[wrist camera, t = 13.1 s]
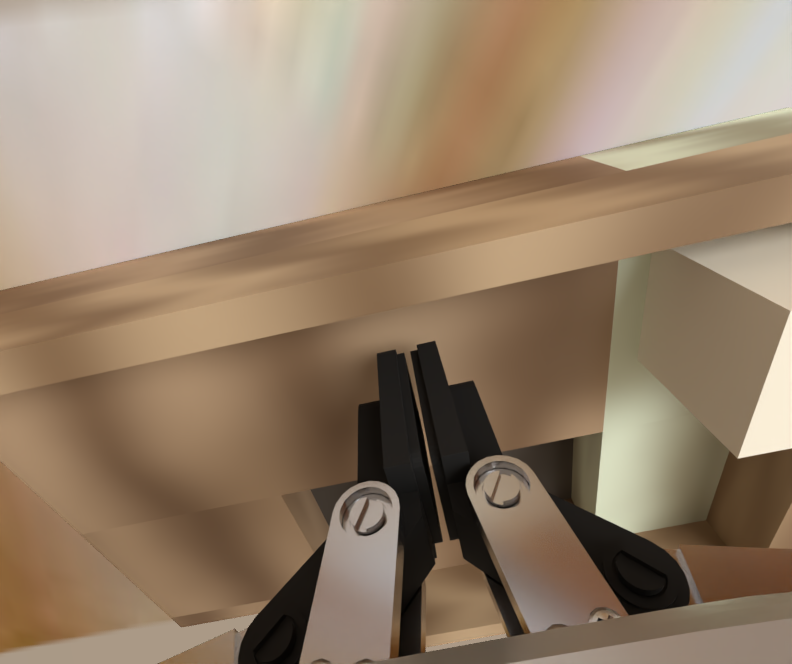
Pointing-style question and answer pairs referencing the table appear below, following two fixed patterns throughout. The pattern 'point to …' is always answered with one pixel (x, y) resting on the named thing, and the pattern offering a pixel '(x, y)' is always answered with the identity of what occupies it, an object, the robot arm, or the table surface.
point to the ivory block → (726, 335)
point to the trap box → (358, 375)
